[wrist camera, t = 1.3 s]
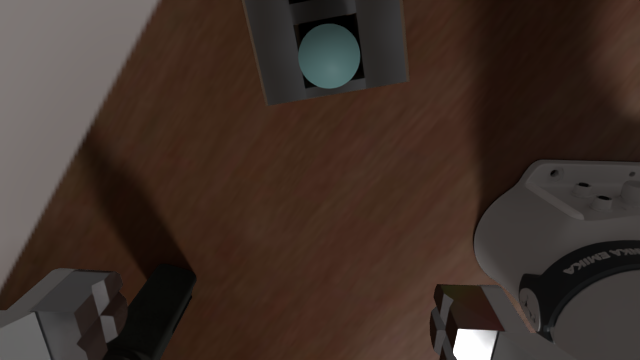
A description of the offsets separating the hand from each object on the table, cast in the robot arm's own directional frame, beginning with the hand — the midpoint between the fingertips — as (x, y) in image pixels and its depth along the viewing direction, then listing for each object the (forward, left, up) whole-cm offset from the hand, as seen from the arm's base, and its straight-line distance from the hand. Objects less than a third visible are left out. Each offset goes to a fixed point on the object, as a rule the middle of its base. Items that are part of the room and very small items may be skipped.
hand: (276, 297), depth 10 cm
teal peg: (-2, -4, -26) cm, 26 cm away
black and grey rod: (+22, +20, -31) cm, 43 cm away
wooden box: (-2, -7, -31) cm, 32 cm away
